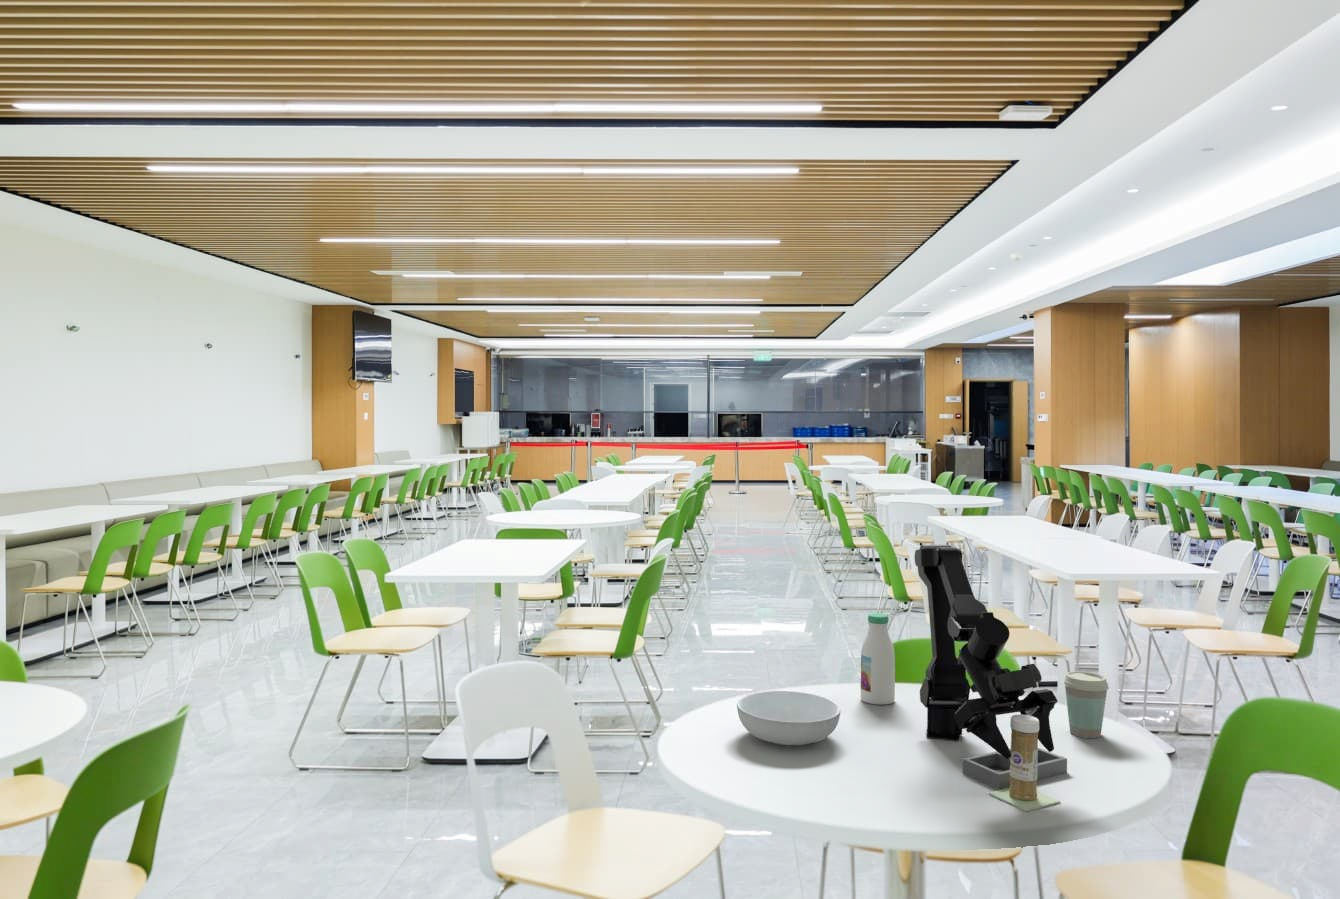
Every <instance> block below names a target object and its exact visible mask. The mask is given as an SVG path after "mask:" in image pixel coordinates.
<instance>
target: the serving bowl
mask: <svg viewBox="0 0 1340 899" xmlns="http://www.w3.org/2000/svg"><path fill="white" fill-rule="evenodd" d="M736 709H737V714H738V719H739V721H740V722H741V725H742V726H743V727H744V728H745V730H747V732H749V734H751V735H752V736H754V737H756V738H757V739H760V740H762V741H766V742H768V743H769V742H770V743H773V744H776V745H780V746H781V745H782V746H790V745H794V746H801V745H808V744H809V745H810V744H813V743H817V742H820V741H822V740H825V739H826V738H828V737H829V736H830V735H831V734H832V733H833V732H834V731H835V729H836V728H837V726H838V724H839V720H840V716H841V707H840V705H839V704H838V703H836V702H834V701H833V700H831V699H830V698H827V697H825V696H820V695H817V694H813V693H809V692H808V693H807V692H800V691H791V690H769V691H767V690H766V691H761V692H755V693H754V692H753V693H751V694H747V695H745V696H742V697H741V698H739V699H738V701H737V702H736Z"/></svg>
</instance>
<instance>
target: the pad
mask: <svg viewBox="0 0 1340 899" xmlns="http://www.w3.org/2000/svg"><path fill="white" fill-rule="evenodd" d="M1009 790H1010V787H1005V788H1001V789H998V790H995V791H991V792H989V793H988V795H990V796H992V797H994V798H996V799H998V800H1001V801H1002V802H1005V803H1006V804H1009V805H1010V806H1013V807H1015V808H1017V809H1020V810H1021V811H1024V812H1026V813H1027V812H1031V811H1034V810H1039V809H1042V808H1047V807H1050V806H1055V805H1057V804H1060V803H1061V800H1059V799H1056V798H1054V797H1052V796H1049V795H1048V794H1045V793H1042V792H1040V791H1038V790H1037V798H1036V799H1034V800H1020V799H1017V798H1014V797H1013V796H1011V795H1010V793H1009Z"/></svg>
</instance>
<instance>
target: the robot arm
mask: <svg viewBox="0 0 1340 899" xmlns="http://www.w3.org/2000/svg"><path fill="white" fill-rule="evenodd" d="M914 565H915V566H916V567H917V574H918V576H919V578H920V580H921V581H922V582H923V583H924V585H925V586H926V588H927V602H928V612H929V613H928V616H929V628H930V640H931V653H932V657H931V660H930V661H929V663H928V666H927V667H926V669H925V677H924V680H923V682H922V684H921V687H920V690H919V701H920V702H921V704H922V705H923V706H924V708H926V709H927V714H926V715H927V717H926V721H927V722H926V723H927V724H926V733H925V736H926V738H930V739H931V738H932V739H940V740H941V739H942V740H952V741H960V740H961V739H960V738H961V736H962V735H963V730H965V731H966V733H971V734H972V735H974V736H976V737H978V739H980V740H981V741H983V742H984V743H985V744H987V745H988V746H990V747H991V748H992V749H994V750H995V752H996V751H997V752H998V753H1000V754H1001V755H1002V756H1003V757H1005V758H1006V759H1009V758H1011V753H1010V750H1009V749H1010V748H1009V746H1008V744H1007V742H1006V740H1005V738H1004V736H1003V734H1002V732H1001V731H1000V728H999V726H998V723H997V716H1000V715H1006V714H1012V713H1013V714H1014V713H1019V714H1020V715H1029V716H1033V717H1035V718H1037V719H1038V720H1039V731H1038V742H1040V744H1041V745H1042V746H1043V747H1044V748H1045V749H1046V751H1048V752H1051V753H1053V751H1054V750H1055V746H1054V742H1053V734H1052V731H1051V725H1050V713H1051V711H1052V710H1054V709H1055V705H1056V704H1057V703H1059V700H1058V699H1057V697H1056V695H1055V694H1054V692H1053V691H1052V690H1051V689H1047V688H1045V689H1036V690H1031V691H1030V692H1029V693H1028V694H1027V695H1026V696H1025V697H1024V698H1023V699H1020V697H1022V696H1023V695H1024V694H1025V693H1026V691H1025V690H1026V689H1031V688H1033V689H1035V688H1038V684H1037V683H1040V682H1042V680H1043V677H1042V675H1041V671H1040V670H1039V668H1038V667H1037V666H1036V665H1035V663H1028V664H1025V665H1022V666H1021V668H1020V669H1017V670H1012V671H1011V670H1010V668H1009V669H1008V668H1007V667H1006V668H1002V666H1001V664H1000V662H999V661H998V658H999V657H1000V656H1001V653H1002V652H1003V650H1004V648H1005V646H1006V644H1007V642H1008V640H1009V639H1010V635H1011V634H1010V630H1009V627H1008V626H1007V625H1006V624H1005V623H1004V621H1002V620H1000V619H999V618H997V617H995V615H994V612H991V611H988V609H987V607H986V605H984V603H982V602H981V601H980V600H978V599H977V598H976V597H975V595H974V591H973V589H972V586H971V583H970V581H969V577H968V574H967V572H966V569H965V567H964V566H965V565H964V563H963V553H962V549H960V548H957V546H956V547H952V545H951V544H921V545H920V546H919V549H916V550H914ZM955 642H963V643H965V644H963V646H962V647H961V648H960V649H959V650H958V656H957V654H956V644H955ZM966 673H967V674H966ZM967 675H968V676H969V678H970V680H971V682H972V683H973V684H972V685H971V684H970V683H969V682H970V681H969V679H968V677H967ZM970 691H971V692H972V693H978V695H979V696H980V697H979V698H970V693H971V692H970Z"/></svg>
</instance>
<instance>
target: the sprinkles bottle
mask: <svg viewBox="0 0 1340 899" xmlns="http://www.w3.org/2000/svg"><path fill="white" fill-rule="evenodd" d="M1010 728H1011V729H1010V731H1011V734H1010V736H1011V737H1010V738H1011V739H1010V748H1011V758H1010V786H1009V788H1010V790H1009V793H1010V795H1011V796H1013V797H1014V798H1017V799H1020V800H1034V799H1036V798H1037V791H1038V790H1037V786H1038V785H1037V784H1038V783H1037V782H1038V779H1037V768H1038V748H1039V747H1038V746H1039V744H1038V742H1039V740H1038V731H1039V720H1038V719H1037V718H1035V717H1033V716H1029V715H1021V714H1013V715H1011V716H1010ZM1037 747H1038V748H1037Z"/></svg>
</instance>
